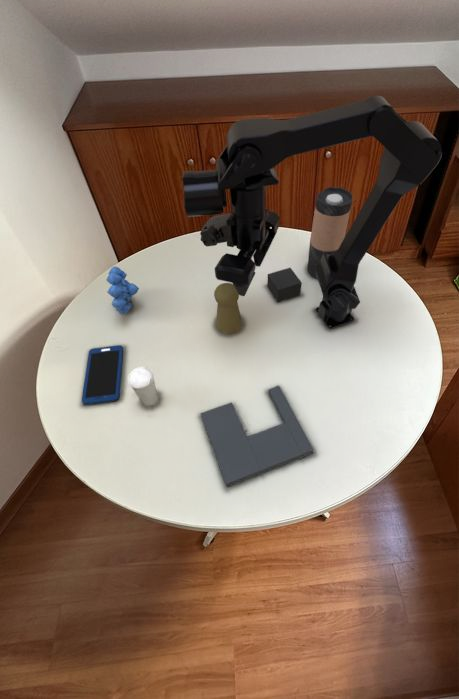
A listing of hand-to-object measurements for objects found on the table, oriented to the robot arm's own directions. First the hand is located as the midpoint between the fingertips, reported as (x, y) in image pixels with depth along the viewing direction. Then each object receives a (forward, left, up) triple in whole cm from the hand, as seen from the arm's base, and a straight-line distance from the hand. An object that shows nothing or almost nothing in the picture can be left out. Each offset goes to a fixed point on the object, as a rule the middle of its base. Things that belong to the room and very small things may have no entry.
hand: (250, 280), depth 74 cm
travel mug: (-23, -10, -13) cm, 28 cm away
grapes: (+25, -16, -13) cm, 32 cm away
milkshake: (+26, +11, -13) cm, 31 cm away
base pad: (+10, +25, -13) cm, 30 cm away
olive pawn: (+5, -2, -13) cm, 14 cm away
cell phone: (+34, +1, -13) cm, 36 cm away
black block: (-11, -7, -13) cm, 18 cm away
